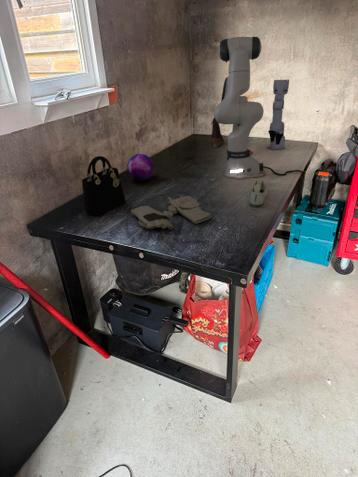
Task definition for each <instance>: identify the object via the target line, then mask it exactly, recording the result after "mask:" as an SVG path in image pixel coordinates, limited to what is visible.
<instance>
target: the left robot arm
mask: <svg viewBox="0 0 358 477" xmlns="http://www.w3.org/2000/svg"><path fill="white" fill-rule="evenodd" d="M262 47H263V46H262V42H261V39H260V37H258V36H235V37H229V38H224V39H221V41H220V42H219V45H218V56H219V58H220V60H221V61H222V62H225V63H228V62H229V63H228V70H227V71H228V74H227V75H228V76H226V77H225V79H224V82H223V86H222V93H221V99H220V102H219V103H218V104H217V105H216V107H215V108H214V111H213V115H214V116H213V118H214V117H215V120H216V121H217V122H218V123H219V125H220V124H221V125H232V130H231V132H229V134H228V135H227V149H226V152H225V153H226V154H225V159H226V165H225V169H224V172H223V174H224V176H225V177H228V178H232V179H233V178H234V179H237V180H243V179H250V178H258V177H259V178H260V177H263V176H264V175H265V172H264V169H267V170H270V171H271V172H272V173H273V174H275V175H277V176H279V177H281V176H282V177H283V176H286V175H287V174H289V173H301V174H302V175H306V173H305V172H304V171H303V170H300V169H292V170H286V171H285V172H284V173H279V172H277V171H275V170H274V169H272V167H268V166H265V165H264V163H263V162H259V161H258V160H257V159H256V158H255V157H254V156H253V154H254V152H253V151H252V149H249V147H248V146H249V137H250V134H251V132H252V129H253V128H254V127H255V126H256V125H257V124H258V123H259V122H260V121H261V120H262V119H263V116H264V106H263V105H262V103H261V102H257V101H252V100H251V101H249V100H248V96H245V95H244V94H246V93H247V92H248V91H249V90H250V87H251V61H250V60H252V61H254V60H256V59H258V58H259V57H260V55H261V52H262Z"/></svg>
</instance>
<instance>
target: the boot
mask: <svg viewBox="0 0 358 477" xmlns="http://www.w3.org/2000/svg"><path fill="white" fill-rule="evenodd" d="M211 125H212V126H211V127H212V129H211V130H212V131H211V134H210V135H211V143H212V146H213V148H214V149H215V148H218V147H219V146H221V145H222V144H224V143H225V139H224V137H223V135H222V133H221V128H220V123H218V122H217V121H216V120H215V117H214V116H213V118H212V121H211Z"/></svg>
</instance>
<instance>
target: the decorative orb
mask: <svg viewBox="0 0 358 477" xmlns="http://www.w3.org/2000/svg"><path fill="white" fill-rule="evenodd" d="M126 168H127V172H128V175H129V177H131V178H132V179H133V180H136V181H138V182H139V181H140V182H141V181H146V180H148V179H149V178H151V176H152V175H153V173H154V169H155V166H154V162H153V160H152V158H151V157H150V156H148V155H147V154H145V153H136V154H134V155H132V156H130V158H129V159H128V161H127V165H126Z"/></svg>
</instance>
